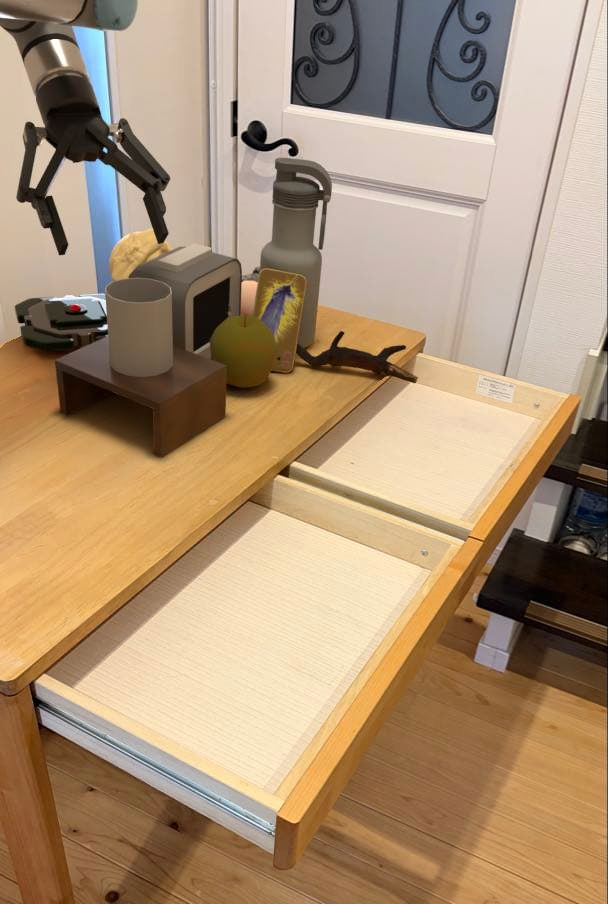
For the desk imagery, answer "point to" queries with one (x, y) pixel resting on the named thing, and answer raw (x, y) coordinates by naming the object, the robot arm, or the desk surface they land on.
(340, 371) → the desk surface
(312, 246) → the water bottle
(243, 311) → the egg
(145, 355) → the cup
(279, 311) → the smartphone
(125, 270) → the tan curved lump
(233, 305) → the alarm clock
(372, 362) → the toy
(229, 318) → the apple
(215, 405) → the shelf
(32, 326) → the four-lobed dark green device
